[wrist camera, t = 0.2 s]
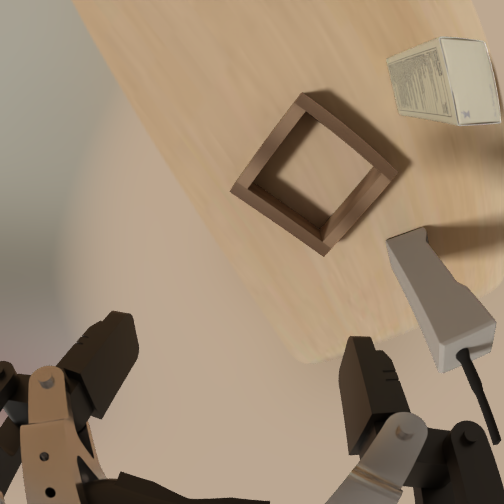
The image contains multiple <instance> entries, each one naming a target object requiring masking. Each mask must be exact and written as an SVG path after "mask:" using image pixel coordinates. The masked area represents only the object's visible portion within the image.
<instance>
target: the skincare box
mask: <svg viewBox="0 0 504 504" xmlns="http://www.w3.org/2000/svg"><path fill="white" fill-rule="evenodd" d="M386 62H387V66H388V70H389V74H390V78H391V82H392V87H393V91H394V95H395V100H396V104H397V108H398V113H399V115H402V116H409V117H415V118H421V119H427V120H432V121H437V122H442V123H447V124H452V125H456V126H471V125H489V124H499V123H501V114H500V105H499V99H498V93H497V87H496V82H495V77H494V73H493V69H492V64H491V61H490V57H489V53H488V50H487V46H486V43H485V42H484V41H480V40H473V39H466V38H457V37H438V38H435V39H433V40H430V41H428V42H425V43H423V44H420V45H417V46H415V47H413V48H410V49H408V50H406V51H403V52H401V53H398V54H396V55H394V56H392V57H389V58H387V59H386Z"/></svg>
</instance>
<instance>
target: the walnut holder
mask: <svg viewBox="0 0 504 504" xmlns="http://www.w3.org/2000/svg"><path fill="white" fill-rule="evenodd" d="M305 111H306V112H307V113H308V114H310V115H311V116H312V117H314V118H315V119H316V120H318V121H319V122H320V123H322V124H323V125H324V126H326V127H327V128H328V129H330V130H331V131H332V132H333V133H335V134H336V135H337V136H338V137H340V138H341V139H342V140H343V141H345V142H346V143H347V144H348V145H349V146H351V147H352V148H353V149H354V150H355V151H357V152H358V153H359V154H360V155H361V156H362V157H364V158H365V159H366V160H367V161H368V162H369V163H370V164H372V165H373V166H374V167H373V168H372V169H371V170H370V171H369V173H368V174H367V175H366V176H365V177H364V179H363V180H362V181H361V182H360V183H359V184H358V186H357V187H356V188H355V189H354V190H353V192H352V193H351V194H350V195H349V196H348V197H347V199H346V200H345V201H344V202H343V203H342V204H341V206H340V207H339V208H338V209H337V210H336V211H335V213H334V214H333V215H332V216H331V217H330V218H329V219H328V221H327V222H326V223H325V224H324V225H323V226H322V227H321V229H318V228H317V227H316V226H314V225H313V224H312V223H310V222H309V221H308V220H306V219H305V218H303V217H302V216H301V215H299V214H298V213H296V212H295V211H294V210H292V209H291V208H289V207H288V206H287V205H285V204H284V203H282V202H281V201H280V200H278V199H277V198H275V197H274V196H272V195H271V194H270V193H268V192H267V191H265V190H264V189H262V188H261V187H259V186H258V185H257V184H255V183H254V182H253V180H254V179H255V178H256V176H257V175H258V174H259V172H260V171H261V169H262V168H263V167H264V165H265V164H266V163H267V161H268V160H269V159H270V157H271V156H272V155H273V153H274V152H275V151H276V149H277V148H278V147H279V145H280V144H281V143H282V141H283V140H284V139H285V137H286V136H287V135H288V133H289V132H290V131H291V129H292V128H293V127H294V126H295V124H296V123H297V122H298V120H299V119H300V118H301V116H302V115H303V114H304V113H305ZM397 174H398V171H397V170H396V169H395V168H394V167H393V166H392V165H391V164H389V163H388V162H387V161H386V160H385V159H384V158H383V157H382V156H381V155H380V154H379V153H378V152H376V151H375V150H374V149H373V148H372V147H371V146H370V145H369V144H367V143H366V142H365V141H364V140H363V139H362V138H360V137H359V136H358V135H357V134H356V133H355V132H353V131H352V130H351V129H350V128H348V127H347V126H346V125H345V124H344V123H342V122H341V121H340V120H339V119H337V118H336V117H335V116H334V115H332V114H331V113H330V112H328V111H327V110H326V109H324V108H323V107H322V106H320V105H319V104H318V103H316V102H315V101H314V100H312V99H311V98H310V97H308V96H307V95H305V94H304V93H303V92H302V93H301V94H300V95H299V96H298V98H297V99H296V100H295V102H294V103H293V104H292V106H291V107H290V108H289V109H288V111H287V112H286V113H285V115H284V116H283V117H282V119H281V120H280V121H279V123H278V124H277V125H276V127H275V128H274V129H273V131H272V132H271V133H270V135H269V136H268V138H267V139H266V140H265V142H264V143H263V144H262V146H261V147H260V148H259V150H258V151H257V153H256V154H255V155H254V157H253V158H252V160H251V161H250V162H249V164H248V165H247V167H246V168H245V169H244V171H243V172H242V174H241V175H240V176H239V178H238V179H237V181H236V182H235V184H234V185H233V187H232V189H231V190H230V192H231V193H232V194H234V195H235V196H237V197H238V198H240V199H241V200H243V201H244V202H246V203H247V204H249V205H250V206H252V207H253V208H254V209H256V210H257V211H259V212H260V213H262V214H263V215H265V216H266V217H268V218H269V219H271V220H272V221H273V222H275V223H276V224H278V225H279V226H281V227H282V228H284V229H285V230H286V231H288V232H289V233H291V234H292V235H294V236H295V237H296V238H298V239H299V240H301V241H302V242H304V243H305V244H306V245H308V246H309V247H311V248H312V249H313V250H315V251H316V252H318V253H319V254H320V255H322V256H323V257H324V256H325V255H326V254H327V253H328V252H329V251H330V250H331V249H332V247H333V246H334V245H335V244H336V243H337V242H338V241H339V240H340V239H341V238H342V237H343V235H344V234H345V233H346V232H347V231H348V230H349V229H350V228H351V227H352V225H353V224H354V223H355V222H356V221H357V220H358V219H359V218H360V217H361V215H362V214H363V213H364V212H365V211H366V210H367V209H368V207H369V206H370V205H371V204H372V203H373V202H374V201H375V199H376V198H377V197H378V196H379V195H380V194H381V192H382V191H383V190H384V189H385V188H386V187H387V185H388V184H389V183H390V182H391V181H392V180H393V178H394V177H395V176H396V175H397Z"/></svg>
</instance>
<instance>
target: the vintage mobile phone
mask: <svg viewBox="0 0 504 504" xmlns="http://www.w3.org/2000/svg"><path fill="white" fill-rule="evenodd" d="M386 245H387V250H388V254H389V259H390V263H391V267H392V269H393V271H394V273H395V275H396V277H397V279H398V281H399V283H400V285H401V287H402V289H403V291H404V293H405V295H406V298H407V300H408V302H409V304H410V306H411V308H412V310H413V312H414V315H415V317H416V319H417V321H418V324H419V326H420V328H421V330H422V333H423V335H424V337H425V340H426V342H427V345H428V347H429V350H430V352H431V355H432V357H433V360H434V362H435V365H436V367H437V370H438V372H440V373H445V372H447V371H450V370H452V369H455V368H457V367H459V366H462V367H463V369H464V372H465V374H466V376H467V379H468V381H469V384H470V386H471V388H472V390H473V392H474V393H475V395H476V397H477V399H478V402H479V405H480V407H481V410H482V413H483V415H484V418H485V421H486V424H487V427H488V430H489V433H490V436H491V439H492V443H493V445H497V444H499V442H500V441H501V438H500V435H499V431H498V429H497V426H496V423H495V420H494V417H493V414H492V412H491V409H490V406H489V404H488V401H487V399H486V397H485V394H484V391H483V387H482V383H481V380H480V378H479V376H478V373H477V372H476V369H475V367H474V365H473V363H472V361H473V360H475V359H477V358H479V357H481V356H483V355H485V354H488V353H490V352H491V348H492V344H493V339H494V334H495V328H496V321H495V319H494V318H493V317H492V316H491V314H490V313H489V312H488V311H487V310H486V308H485V307H484V306H483V305H482V303H481V302H480V301H479V300H478V299H477V298H476V296H475V295H474V294H473V293H472V292H471V291H470V290H469V288H468V287H466V286H464V285H462V284H461V283H459V282H457V281H456V280H455V279H454V277H453V276H452V274H451V273H450V272H449V270H448V269H447V268H446V266H445V265H444V264H443V262H442V261H441V260H440V258H439V257H438V256H437V255H436V253H435V252H434V251H433V249H432V248H431V247H430V246H429V244H428V237H427V231H426V229H425V228H424V227H422V228H419V229H416V230H414V231H411V232H408V233H405V234H402V235H400V236H397V237H394V238H391V239H388V240H386Z"/></svg>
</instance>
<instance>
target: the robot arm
mask: <svg viewBox="0 0 504 504" xmlns="http://www.w3.org/2000/svg"><path fill="white" fill-rule="evenodd" d="M138 353H139V344H138V340H137V335H136V330H135V325H134V320H133V317H132V315H131V314H129V313H123V312H117V311H111V312H110V313H109V315H108V316H107V317H106V318H105V319H104V320H103V321H99V322H97V323H96V324H94V325H92V326H91V327H89V328H88V329H87V331H86V332H85V333H84V334H83V335H82V337H80V338H79V340H78V341H77V343H75V344H74V345H73V346H72V348H71V349H70V350H69V351H68V352H67V354H66V355H65V356H64V357H63V358H62V359H61V361H60V362H59V363H58V364H57V365H56V366H44V367H41V368H39V369H37V370H36V371H35V372H33V374H32V375H24V374H17V373H16V371H15V369H14V367H13V366H12V364H11V363H9V362H6V361H0V411H1V410H2V409H4V410H5V412H6V413H7V415H8V417H7V418H6V420H5V422H4V423H3V424H2V426H1V427H0V504H5V503H4V496H5V494H6V492H7V490H8V488H9V485H10V484H11V482H12V480H13V478H14V476H15V474H16V472H17V470H18V468H19V466H20V464H21V463H22V468H23V478H24V486H25V492H26V498H27V504H270V501H259V500H248V499H238V498H216V499H188V498H185V497H183V496H181V495H179V494H177V493H175V492H172V491H171V490H168V489H167V488H165V487H162V486H161V485H159V484H157V483H155V482H153V481H149V480H145V479H142V478H139V477H136V476H133V475H130V474H127V473H124V472H120V474H119V477H118V479H107V478H106V476H105V474H104V472H103V471H102V469H101V467H100V464H99V461H98V457H97V454H96V450H95V446H94V443H93V439H92V434H91V430H90V425H89V423H88V419H89V417H90V416H93V417H96V418H99V419H102V418H103V416H104V414H105V412H106V411H107V409H108V408H109V406H110V404H111V402H112V401H113V399H114V397H115V395H116V393H117V392H118V390H119V389H120V387H121V385H122V383H123V382H124V380H125V378H126V377H127V375H128V373H129V372H130V370H131V368H132V367H133V365H134V363H135V362H136V360H137V358H138ZM339 388H340V393H341V400H342V406H343V414H344V420H345V428H346V435H347V443H348V451H349V455H359V456H360V461H359V463H358V464H357V465H356V467H355V468H354V469H353V470H352V471H351V473H350V474H349V475H348V477H347V478H346V479H345V480H344V482H343V483H342V484H341V485H340V486H339V488H338V489H337V490H336V492H335V493H334V494H333V495H332V496H331V497H330V498H329V500H328V501H327V502H326V503H325V504H397V503H398V500H399V499H400V497H401V495H402V492H403V491H402V490H401V488H402V486H408V487H413V489H414V496H415V504H504V488H503V484H502V481H501V477H500V474H499V471H498V468H497V465H496V462H495V459H494V456H493V453H492V450H491V447H490V444H489V442H488V439H487V436H486V434H485V432H484V430H483V429H482V427H481V426H479V425H478V424H477V423H475V422H472V421H461V422H459V423H457V424H456V425H455V426H454V427H453V429H452V430H451V431H447V430H439V429H432V428H428V427H427V426H426V424H425V422H424V421H423V420H422V419H421V418H420V417H418V416H417V415H415V414H413V413H411V412H410V409H409V406H408V403H407V400H406V398H405V395H404V392H403V389H402V387H401V384H400V381H398V375H397V373H396V372H395V368H394V365H393V362H392V360H391V359H390V358H389V357H388V356H387V354H385V352H384V351H381V350H377V351H376V350H375V348H374V344H373V342H372V339H371V337H361V336H350V337H349V338H348V341H347V345H346V348H345V352H344V355H343V359H342V363H341V366H340V370H339Z"/></svg>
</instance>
